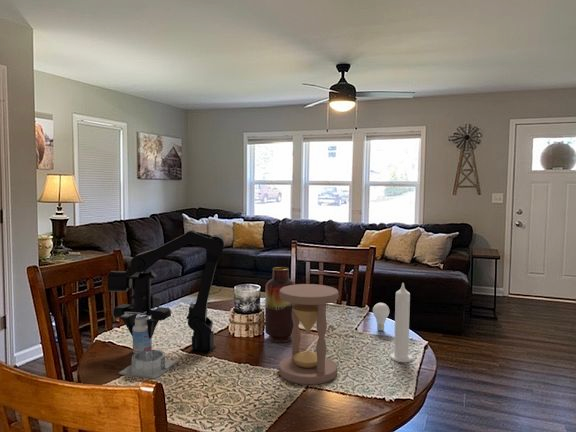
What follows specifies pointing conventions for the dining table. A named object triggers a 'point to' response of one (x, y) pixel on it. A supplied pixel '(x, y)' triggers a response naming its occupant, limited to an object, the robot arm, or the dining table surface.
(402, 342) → the candle
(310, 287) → the hourglass
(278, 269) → the vase
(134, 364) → the duct collar
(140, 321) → the pill bottle
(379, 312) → the lightbulb
